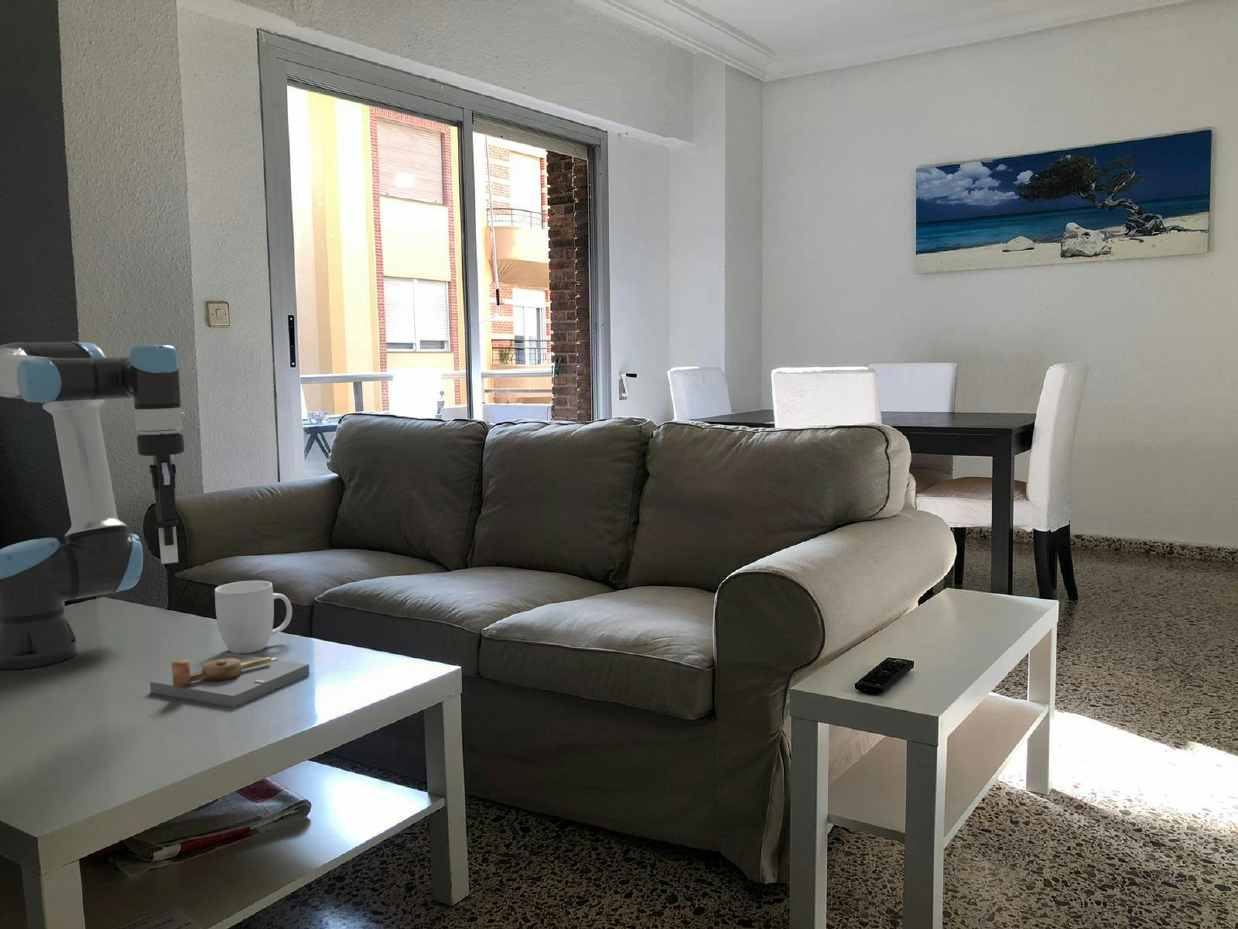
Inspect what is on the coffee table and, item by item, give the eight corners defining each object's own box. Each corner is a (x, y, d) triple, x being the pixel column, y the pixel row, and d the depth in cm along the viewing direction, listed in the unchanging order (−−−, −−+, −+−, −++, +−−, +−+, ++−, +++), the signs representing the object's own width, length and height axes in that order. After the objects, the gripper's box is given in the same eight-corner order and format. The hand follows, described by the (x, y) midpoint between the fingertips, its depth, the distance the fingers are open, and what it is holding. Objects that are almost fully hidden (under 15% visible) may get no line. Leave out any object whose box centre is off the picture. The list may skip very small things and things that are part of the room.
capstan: (180, 690, 165) (178, 668, 164) (167, 682, 170) (165, 660, 169) (277, 667, 177) (276, 645, 176) (263, 659, 181) (261, 639, 181)
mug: (283, 634, 206) (280, 574, 205) (303, 645, 198) (299, 583, 196) (211, 648, 197) (207, 586, 195) (228, 661, 188) (224, 596, 187)
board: (150, 692, 171) (149, 680, 171) (230, 662, 187) (229, 651, 187) (234, 707, 163) (233, 694, 162) (309, 674, 179) (309, 662, 179)
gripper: (187, 433, 168) (196, 566, 170) (178, 429, 179) (187, 553, 181) (139, 435, 164) (149, 571, 166) (133, 431, 175) (143, 558, 178)
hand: (169, 562), depth 174 cm, fingers closed
